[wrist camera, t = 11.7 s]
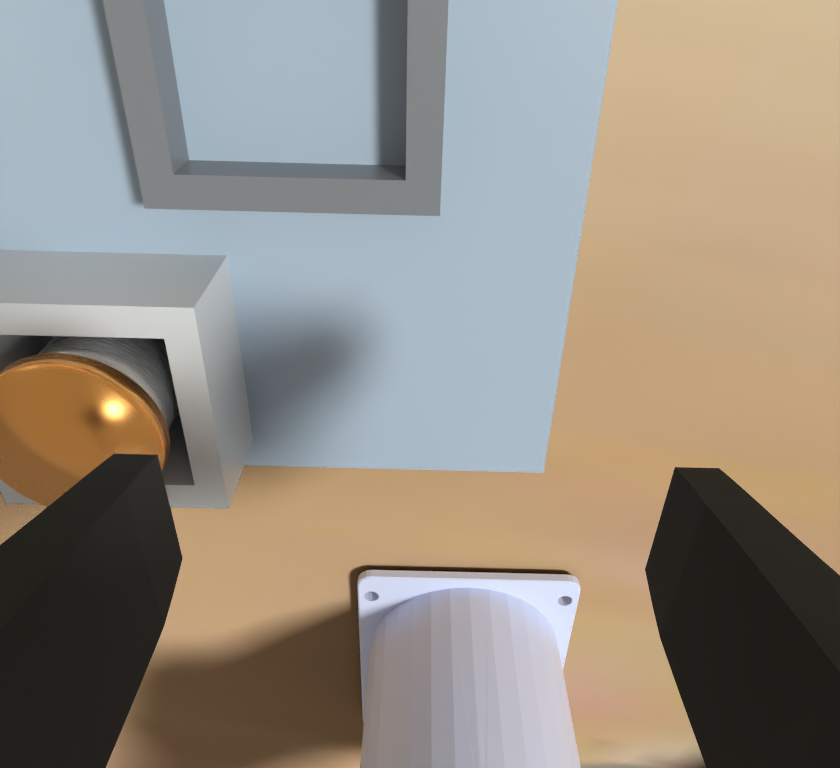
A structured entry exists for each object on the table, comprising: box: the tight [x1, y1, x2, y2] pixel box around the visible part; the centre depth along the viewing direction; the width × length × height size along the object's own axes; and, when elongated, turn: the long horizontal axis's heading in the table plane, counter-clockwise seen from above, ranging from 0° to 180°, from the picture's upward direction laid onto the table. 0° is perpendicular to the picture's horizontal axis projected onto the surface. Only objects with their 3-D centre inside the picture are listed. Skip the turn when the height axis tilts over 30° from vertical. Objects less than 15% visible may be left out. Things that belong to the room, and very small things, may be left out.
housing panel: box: [0, 0, 618, 509], centre depth 16 cm, size 16×22×4 cm
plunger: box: [0, 336, 179, 507], centre depth 17 cm, size 4×4×4 cm
